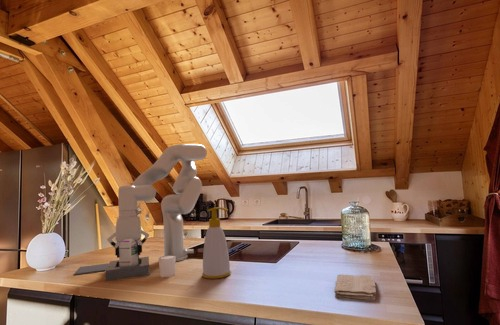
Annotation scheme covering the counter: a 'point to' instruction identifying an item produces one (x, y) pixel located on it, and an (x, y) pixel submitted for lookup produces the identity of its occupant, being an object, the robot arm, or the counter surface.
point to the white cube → (167, 266)
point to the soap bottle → (215, 249)
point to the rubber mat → (91, 269)
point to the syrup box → (128, 253)
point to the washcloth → (355, 287)
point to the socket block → (127, 269)
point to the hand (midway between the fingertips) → (129, 255)
